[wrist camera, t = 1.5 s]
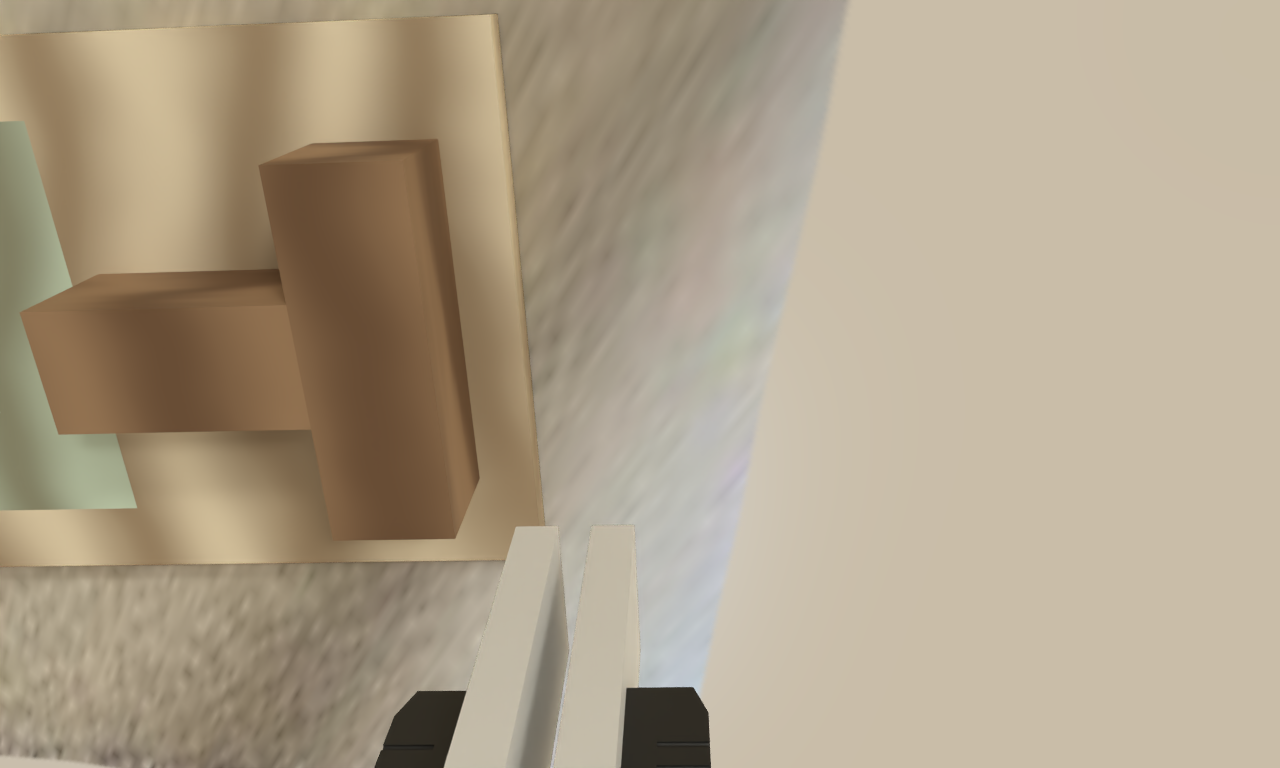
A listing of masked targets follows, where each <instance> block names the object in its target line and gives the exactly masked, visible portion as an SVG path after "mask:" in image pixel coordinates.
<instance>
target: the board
mask: <svg viewBox="0 0 1280 768" xmlns="http://www.w3.org/2000/svg"><path fill="white" fill-rule="evenodd" d="M419 139H438V142H439V150H440V159H441V167H442V175H443V183H444V191H445V199H446V208H447V216H448V224H449V232H450V240H451V248H452V256H453V265H454V273H455V281H456V289H457V297H458V305H459V314H460V322H461V330H462V338H463V346H464V354H465V363H466V371H467V379H468V387H469V395H470V403H471V412H472V420H473V428H474V436H475V444H476V452H477V461H478V469H479V477H480V479H479V482H478V484H477V486H476V489H475V491H474V494H473V496H472V499H471V501H470V504H469V506H468V509H467V511H466V514H465V516H464V519H463V521H462V524H461V526H460V529H459V531H458V534H457V536H456V538H455V539H421V540H352V541H333V538H332V533H331V528H330V523H329V518H328V513H327V508H326V503H325V498H324V493H323V488H322V483H321V477H320V472H319V467H318V462H317V457H316V452H315V447H314V442H313V437H312V432H311V430H264V431H215V432H166V433H117V434H68V435H58V432H57V428H56V425H55V422H54V419H53V416H52V413H51V410H50V407H49V403H48V400H47V397H46V394H45V391H44V388H43V385H42V381H41V378H40V375H39V372H38V369H37V366H36V363H35V360H34V356H33V353H32V350H31V347H30V344H29V341H28V338H27V335H26V331H25V328H24V325H23V322H22V319H21V316H20V313H19V312H21V311H23V310H26V309H28V308H30V307H32V306H34V305H36V304H38V303H40V302H42V301H44V300H46V299H48V298H50V297H52V296H54V295H56V294H58V293H60V292H63V291H65V290H67V289H69V288H71V287H73V286H75V285H77V284H79V283H81V282H83V281H85V280H87V279H89V278H91V277H93V276H95V275H98V274H121V273H155V272H189V271H224V270H258V269H279V267H278V262H277V257H276V252H275V247H274V242H273V237H272V232H271V227H270V222H269V217H268V212H267V207H266V202H265V197H264V192H263V187H262V182H261V177H260V172H259V167H258V165H260V164H263V163H265V162H268V161H270V160H273V159H275V158H277V157H280V156H282V155H285V154H287V153H290V152H292V151H294V150H297V149H299V148H302V147H304V146H307V145H309V144H311V143H335V142H363V141H391V140H419ZM520 526H545V519H544V509H543V498H542V487H541V476H540V466H539V455H538V444H537V433H536V423H535V412H534V401H533V390H532V380H531V369H530V358H529V347H528V337H527V326H526V315H525V304H524V294H523V283H522V272H521V261H520V251H519V240H518V229H517V218H516V208H515V197H514V186H513V175H512V165H511V154H510V143H509V132H508V122H507V111H506V100H505V89H504V79H503V68H502V57H501V46H500V36H499V25H498V14H485V15H461V16H438V17H414V18H390V19H367V20H343V21H319V22H296V23H272V24H249V25H225V26H201V27H178V28H154V29H130V30H107V31H83V32H60V33H36V34H12V35H0V567H19V566H94V565H170V564H245V563H320V562H396V561H471V560H506V558H507V555H508V551H509V548H510V545H511V541H512V538H513V535H514V531H515V528H516V527H520Z"/></svg>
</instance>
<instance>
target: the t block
mask: <svg viewBox="0 0 1280 768" xmlns="http://www.w3.org/2000/svg"><path fill="white" fill-rule="evenodd" d="M258 167H259V172H260V177H261V182H262V187H263V192H264V197H265V202H266V207H267V212H268V217H269V222H270V227H271V232H272V237H273V242H274V247H275V252H276V257H277V262H278V267H279V269H258V270H224V271H189V272H155V273H121V274H98V275H95V276H93V277H91V278H89V279H87V280H85V281H83V282H81V283H79V284H77V285H75V286H73V287H71V288H69V289H67V290H65V291H63V292H60V293H58V294H56V295H54V296H52V297H50V298H48V299H46V300H44V301H42V302H40V303H38V304H36V305H34V306H32V307H30V308H28V309H26V310H23V311H21V312H19V313H20V316H21V319H22V322H23V325H24V328H25V331H26V335H27V338H28V341H29V344H30V347H31V350H32V353H33V356H34V360H35V363H36V366H37V369H38V372H39V375H40V378H41V381H42V385H43V388H44V391H45V394H46V397H47V400H48V403H49V407H50V410H51V413H52V416H53V419H54V422H55V425H56V428H57V432H58V435H68V434H117V433H166V432H215V431H264V430H311V432H312V437H313V442H314V447H315V452H316V457H317V462H318V467H319V472H320V477H321V483H322V488H323V493H324V498H325V503H326V508H327V513H328V518H329V523H330V528H331V533H332V538H333V541H352V540H421V539H455V538H456V536H457V534H458V531H459V529H460V526H461V524H462V521H463V519H464V516H465V514H466V511H467V509H468V506H469V504H470V501H471V499H472V496H473V494H474V491H475V489H476V486H477V484H478V482H479V479H480V477H479V469H478V461H477V452H476V444H475V436H474V428H473V420H472V412H471V403H470V395H469V387H468V379H467V371H466V363H465V354H464V346H463V338H462V330H461V322H460V314H459V305H458V297H457V289H456V281H455V273H454V265H453V256H452V248H451V240H450V232H449V224H448V216H447V208H446V199H445V191H444V183H443V175H442V167H441V159H440V150H439V142H438V139H419V140H391V141H363V142H335V143H311V144H309V145H307V146H304V147H302V148H299V149H297V150H294V151H292V152H290V153H287V154H285V155H282V156H280V157H277V158H275V159H273V160H270V161H268V162H265V163H263V164H260V165H258Z"/></svg>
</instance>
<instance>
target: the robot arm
mask: <svg viewBox="0 0 1280 768" xmlns="http://www.w3.org/2000/svg"><path fill="white" fill-rule="evenodd" d="M568 654H569V643H568V632H567V620H566V609H565V597H564V586H563V574H562V562H561V551H560V539H559V528H558V526H520V527H516V528H515V531H514V535H513V538H512V541H511V545H510V548H509V551H508V555H507V558H506V561H505V565H504V568H503V571H502V575H501V578H500V581H499V585H498V588H497V591H496V595H495V598H494V602H493V605H492V608H491V612H490V615H489V618H488V622H487V625H486V628H485V632H484V635H483V638H482V642H481V645H480V648H479V652H478V655H477V658H476V662H475V665H474V668H473V672H472V675H471V678H470V682H469V685H468V688H467V691H417V693H416V694H415V695H414V696H413V697H412V698H411V699H410V700H409V701H408V702H407V703H406V704H405V705H404V707H403V708H402V709H401V710H400V711H399V712H398V713H397V714H396V715H395V716H394V719H393V721H392V724H391V726H390V729H389V732H388V734H387V737H386V739H385V742H384V744H383V750H381V752H380V755H379V757H378V760H377V762H376V765H375V768H550V765H551V758H552V752H553V746H554V740H555V734H556V728H557V721H558V715H559V709H560V703H561V697H562V691H563V684H564V678H565V672H566V666H567V660H568ZM639 666H640V631H639V610H638V590H637V569H636V549H635V528H634V525H592V526H591V532H590V539H589V545H588V551H587V558H586V564H585V570H584V577H583V583H582V589H581V596H580V602H579V608H578V615H577V621H576V627H575V634H574V640H573V646H572V653H571V659H570V665H569V672H568V678H567V684H566V691H565V697H564V703H563V710H562V716H561V722H560V729H559V735H558V741H557V748H556V754H555V760H554V767H553V768H711V761H710V738H709V716H708V711H707V709H706V708H705V706H704V704H703V703H702V701H701V699H700V698H699V696H698V694H697V693H696V691H695V689H694V688H693V687H663V688H638V685H639Z"/></svg>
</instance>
